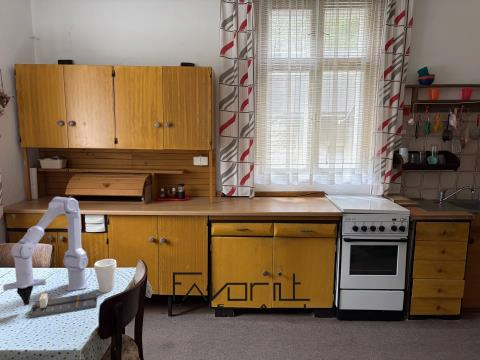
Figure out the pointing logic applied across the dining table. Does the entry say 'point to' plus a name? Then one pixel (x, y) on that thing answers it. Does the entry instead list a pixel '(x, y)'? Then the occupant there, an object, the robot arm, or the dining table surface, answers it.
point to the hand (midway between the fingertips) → (26, 304)
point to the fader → (43, 300)
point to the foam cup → (106, 274)
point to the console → (65, 304)
